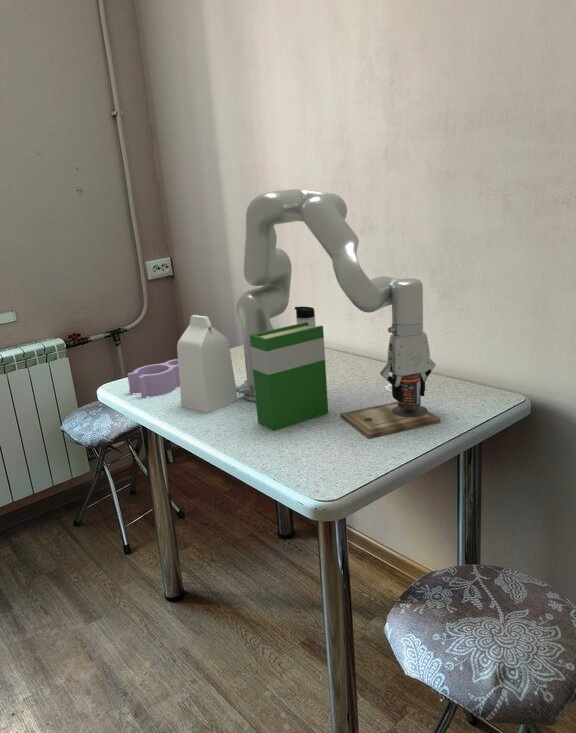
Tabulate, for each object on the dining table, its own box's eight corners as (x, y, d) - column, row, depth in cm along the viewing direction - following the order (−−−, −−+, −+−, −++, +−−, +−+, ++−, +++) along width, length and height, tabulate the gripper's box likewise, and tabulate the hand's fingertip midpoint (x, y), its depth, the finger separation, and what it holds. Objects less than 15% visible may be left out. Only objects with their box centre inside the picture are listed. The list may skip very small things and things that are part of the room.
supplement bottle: (395, 409, 157) (394, 367, 154) (399, 401, 162) (398, 360, 159) (418, 410, 155) (418, 368, 152) (422, 402, 160) (422, 361, 157)
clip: (177, 376, 209) (174, 357, 207) (199, 382, 200) (197, 362, 198) (125, 393, 195) (122, 372, 193) (147, 400, 187) (144, 379, 185)
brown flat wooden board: (368, 438, 147) (368, 433, 147) (340, 417, 162) (340, 412, 161) (442, 421, 153) (442, 416, 153) (408, 402, 168) (408, 398, 168)
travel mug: (299, 361, 214) (295, 305, 208) (318, 361, 213) (315, 304, 207) (297, 367, 208) (293, 309, 202) (317, 366, 207) (313, 308, 201)
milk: (181, 405, 180) (169, 318, 172) (211, 393, 188) (201, 310, 180) (208, 413, 172) (197, 322, 165) (238, 400, 180) (228, 313, 173)
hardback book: (312, 406, 171) (306, 322, 164) (328, 413, 165) (323, 326, 158) (258, 423, 162) (249, 334, 155) (273, 431, 156) (265, 339, 149)
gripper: (384, 337, 147) (386, 407, 152) (446, 326, 152) (445, 395, 157) (369, 331, 153) (372, 398, 159) (429, 321, 159) (429, 387, 164)
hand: (408, 396), depth 158 cm, fingers closed on supplement bottle, 6 cm apart
